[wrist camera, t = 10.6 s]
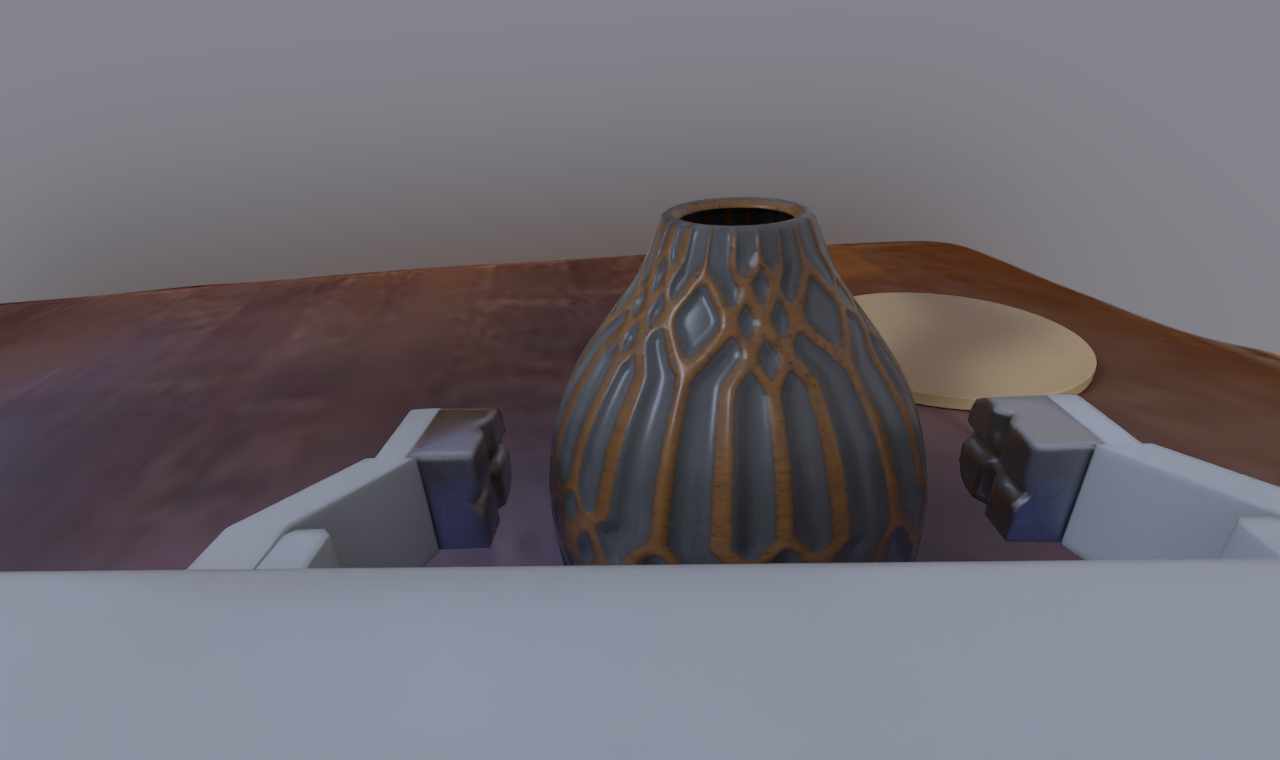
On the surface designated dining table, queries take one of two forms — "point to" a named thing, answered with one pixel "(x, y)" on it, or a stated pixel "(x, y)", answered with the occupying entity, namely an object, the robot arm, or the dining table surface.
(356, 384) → the dining table surface
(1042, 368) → the cork trivet
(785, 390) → the vase
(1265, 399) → the dining table surface
